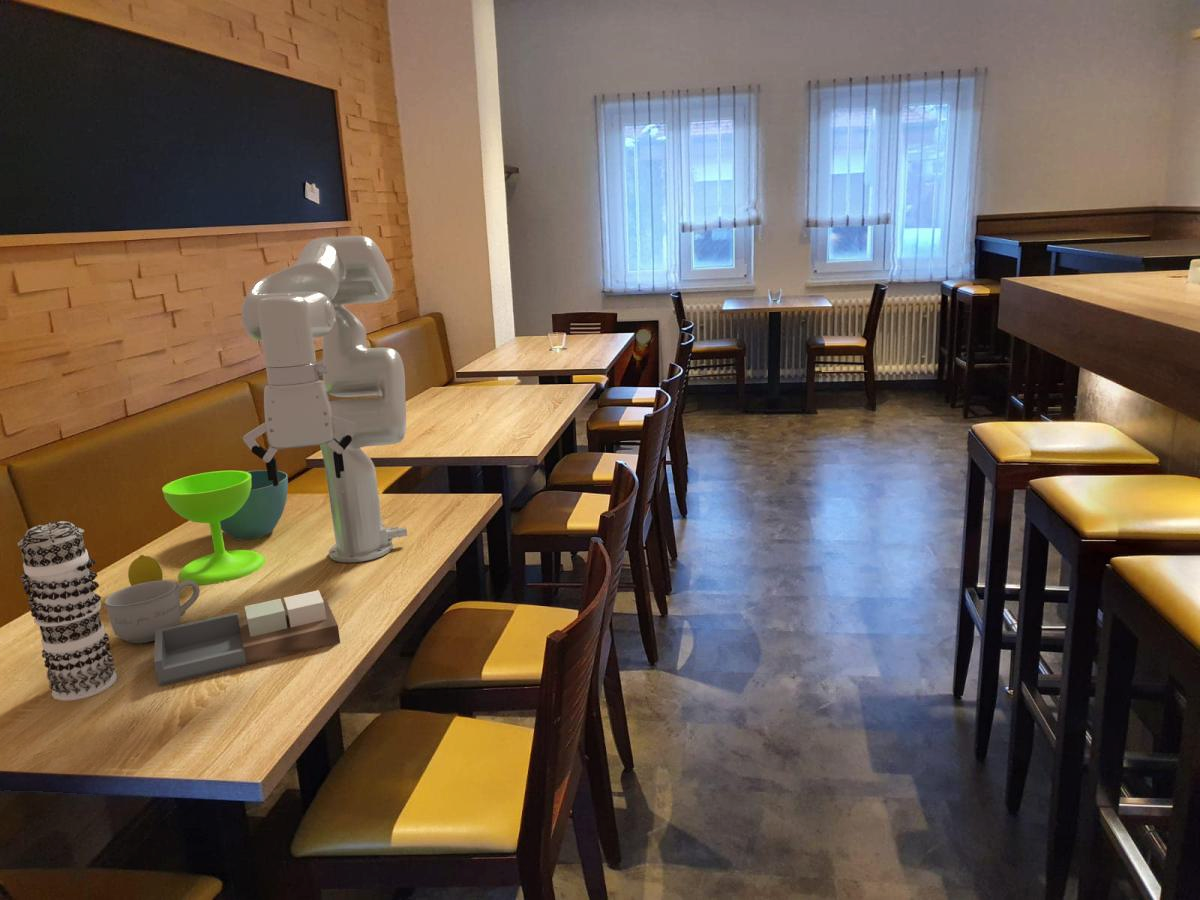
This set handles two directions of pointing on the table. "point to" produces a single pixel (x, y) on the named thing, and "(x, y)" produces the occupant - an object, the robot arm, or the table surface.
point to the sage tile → (265, 617)
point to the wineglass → (214, 522)
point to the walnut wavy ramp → (289, 638)
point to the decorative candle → (66, 610)
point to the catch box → (198, 649)
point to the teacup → (147, 608)
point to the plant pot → (258, 508)
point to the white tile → (305, 608)
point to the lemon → (144, 570)
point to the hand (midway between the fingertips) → (307, 480)
